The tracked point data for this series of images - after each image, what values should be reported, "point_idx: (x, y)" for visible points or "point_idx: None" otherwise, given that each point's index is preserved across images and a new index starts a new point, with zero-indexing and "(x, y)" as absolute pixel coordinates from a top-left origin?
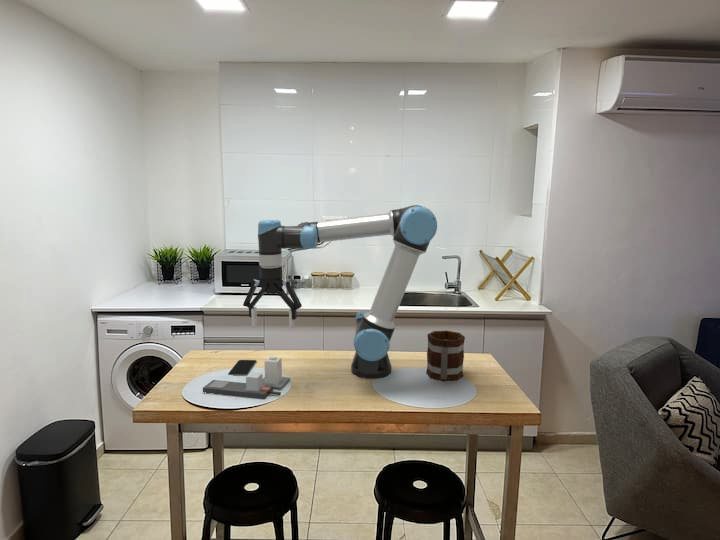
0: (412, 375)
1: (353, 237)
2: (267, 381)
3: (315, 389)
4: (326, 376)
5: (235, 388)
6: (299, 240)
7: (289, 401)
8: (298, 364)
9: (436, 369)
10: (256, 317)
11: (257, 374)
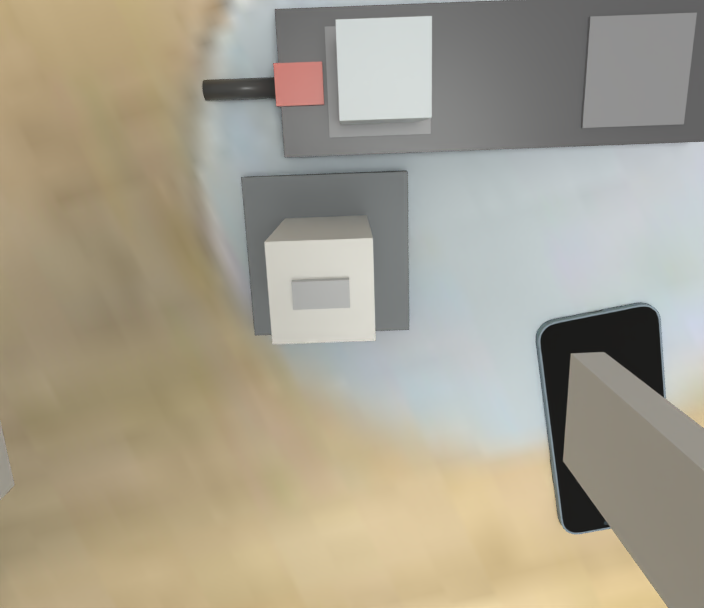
0: None
1: None
2: (349, 217)
3: (56, 244)
4: (83, 433)
5: (501, 43)
6: None
7: (120, 31)
8: (311, 548)
9: None
10: (625, 528)
11: (365, 87)
